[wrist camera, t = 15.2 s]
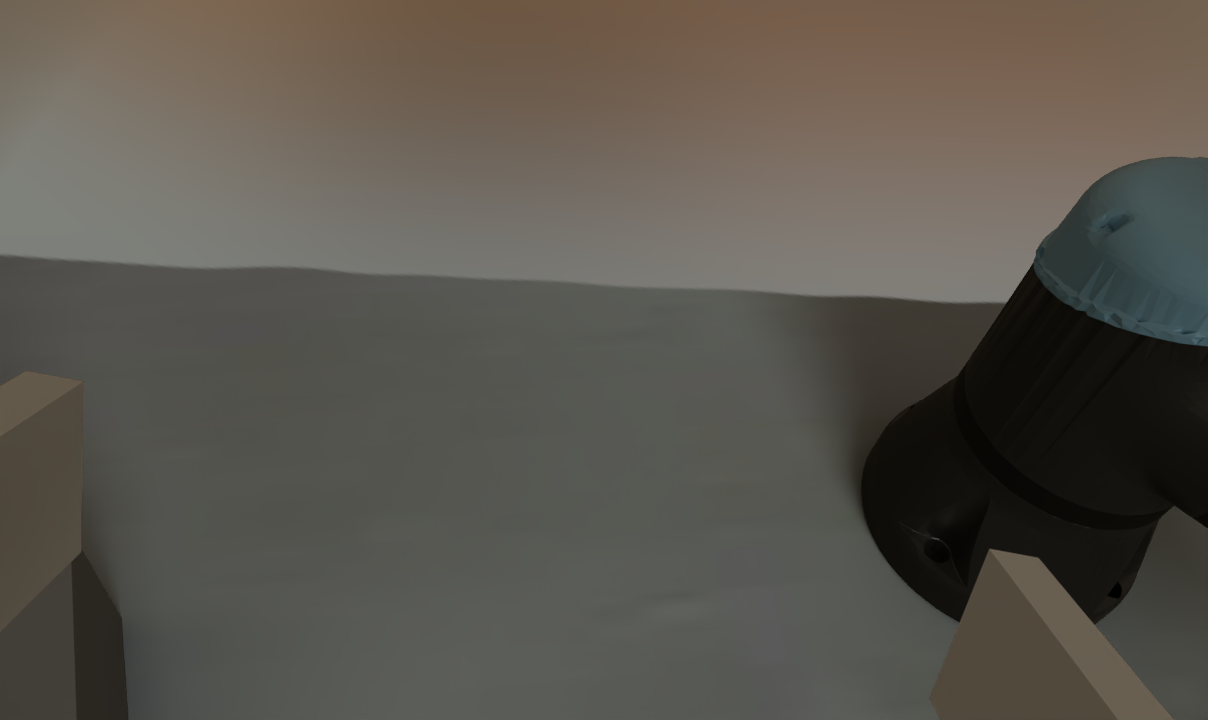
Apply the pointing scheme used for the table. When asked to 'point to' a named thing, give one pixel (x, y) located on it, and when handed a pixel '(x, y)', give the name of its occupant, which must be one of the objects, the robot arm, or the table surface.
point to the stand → (65, 653)
